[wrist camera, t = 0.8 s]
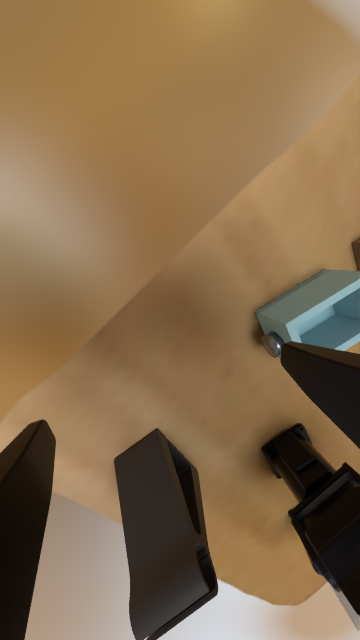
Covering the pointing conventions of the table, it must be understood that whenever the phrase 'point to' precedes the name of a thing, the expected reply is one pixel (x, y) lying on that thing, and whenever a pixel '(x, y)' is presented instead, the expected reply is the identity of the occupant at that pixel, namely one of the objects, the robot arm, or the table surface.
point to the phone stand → (163, 536)
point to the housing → (314, 313)
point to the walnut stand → (357, 252)
